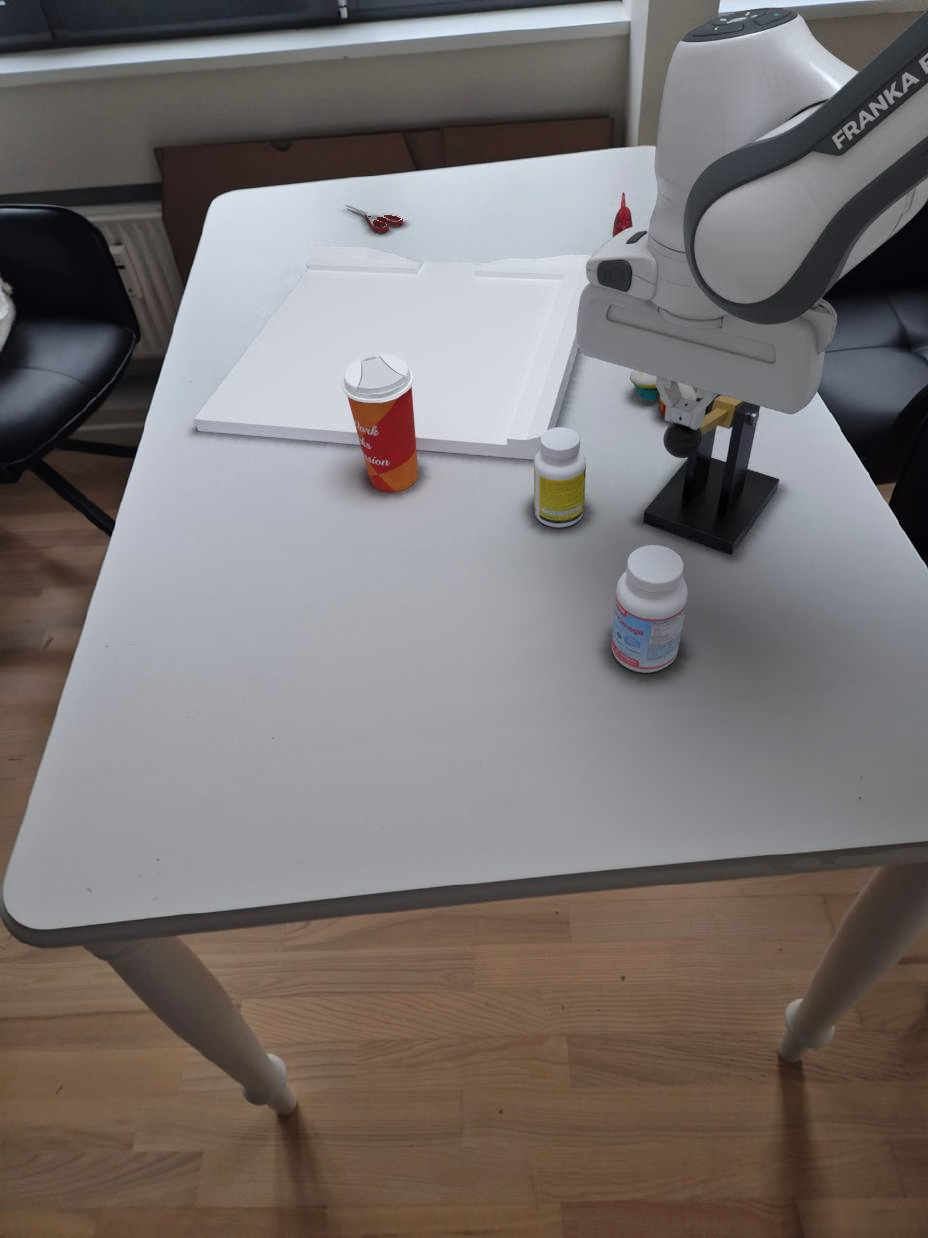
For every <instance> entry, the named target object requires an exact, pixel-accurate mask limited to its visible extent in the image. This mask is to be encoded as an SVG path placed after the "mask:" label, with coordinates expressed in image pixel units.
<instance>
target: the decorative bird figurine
mask: <svg viewBox="0 0 928 1238" xmlns="http://www.w3.org/2000/svg"><path fill="white" fill-rule="evenodd" d="M626 203H627V202H626V194H625V191H624V192H622V194H621V200H620V208H619V209H618V211H617V213H616V215H615V217H614V221H613V227H612V238H613V237H614V236H616V235H617V234H619V233H620V232H622V231H624V230H625V229H627V228H631V227H634V226H633V225H634V224H633V219H632V212H631V209H630V208H629V207H628V206H626Z"/></svg>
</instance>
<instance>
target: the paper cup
mask: <svg viewBox="0 0 928 1238" xmlns="http://www.w3.org/2000/svg"><path fill="white" fill-rule="evenodd" d="M375 358H376V359H375ZM364 359H365V360H362V361H361V362H360V359H359V360H357V361H355V362H353V363H352V364H351V365H350V366H349V367H348V368H347V369H346V371H345V374H344V380H343V383H342V389H343V392H344V393H345V394H346V396H347V397H348V401H349V404H350V408H351V412H352V415H353V419H354V423H355V427H356V430H357V434H358V438H359V441H360V445H359V446H360V448H361V452H362V456H363V459H364V464H365V466H366V467H365V468H366V470H367V474H368V477H369V480H370V483H371V484H372V486H373V487H374V488H375V489H376V490H378V491H381V492H385V493H398V492H403V491H404V490H407V489H409V488H410V487H412V486H413V485H414V484H415V483H416V481H417V480H418V476H419V473H418V472H419V470H418V469H419V467H418V452H417V451H418V450H416V436H415V423H414V410H413V397H412V385H413V382H414V376H413V373H412V372H411V370H410V369H409V368H408V365H407V364H406V362H405V361H404V360H402V359H401V358H399V357H396V356H392V355H379V357H375V356H372V357H368V358H364Z"/></svg>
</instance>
